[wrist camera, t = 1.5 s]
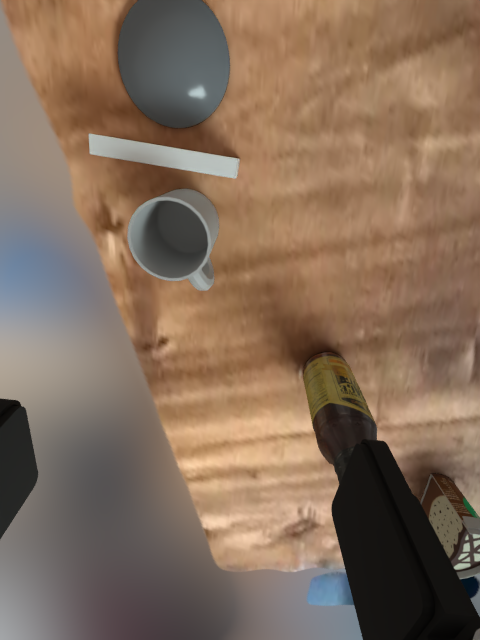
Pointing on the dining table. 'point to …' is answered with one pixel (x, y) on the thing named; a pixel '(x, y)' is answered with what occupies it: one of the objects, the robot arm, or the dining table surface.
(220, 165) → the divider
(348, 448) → the sauce bottle
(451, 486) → the food container
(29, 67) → the dining table surface
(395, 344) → the dining table surface
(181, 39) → the coaster
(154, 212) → the cup
